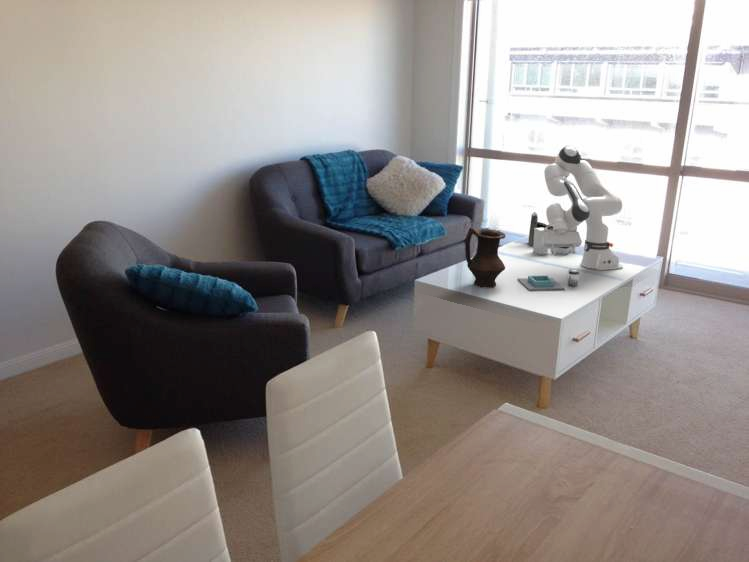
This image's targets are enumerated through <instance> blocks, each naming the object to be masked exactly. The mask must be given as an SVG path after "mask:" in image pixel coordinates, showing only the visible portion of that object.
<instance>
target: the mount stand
mask: <svg viewBox="0 0 749 562" xmlns="http://www.w3.org/2000/svg"><path fill="white" fill-rule="evenodd" d="M517 282H519V284H521V285H522V286H523V287H524V288H525V289H526V290H527V291H529V292H540V291H541V292H542V291H544V292H545V291H565V290H566V289H565V287H564V286H563V285H562V284H560V283H559V282H558V281H556V280H555V279H553V277H550V276H548V275H527V277H525V278H517Z"/></svg>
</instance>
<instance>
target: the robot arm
mask: <svg viewBox="0 0 749 562" xmlns="http://www.w3.org/2000/svg"><path fill="white" fill-rule="evenodd" d="M570 174H571V176H573V177H574V180H575V181H576V184H577V186H578V188H579V190H580V192H581V194H582V195H583V197H586V198H583V197H582V195H581V194H580V192H579V190H578V189H577V186H576V185H575V184H574V183H573V182H572V181H570V180H568V177H569V176H570ZM544 180H545V184H546V188H547V191H548V192H549V194H551V196H554V197H563V196H564V197H565V196H566V195H567V196H568V198H569V200H570V202H571V206H570V208H569V209H567V211H566V210H565V209H564V208H563V207H562V205H561V204H560V203H558V202H556V203H552V204H549V206H548V207H547V208H546V213H545V214H546V219H547V223H548V225H549V226H547V227H545V228H544V230H543V232H542V245H543V246H544V247H548V248H549V249H550V251H551V250H552V251H553V252H552V253H553V255H554V254H555V255H556V254H558V253H557V249H555V248H554V247H572V248H573V249H572V250H571V252H570V254H575V253H576V248H579V247H580V246H581V245H582V242H583V241H582V238H581V236H580V233H579V231H575V230H573V229H574V228H576V227H577V228H578V226H579V225H580V224H582V223H583V222H584V221H585V223H586V236H585V240H584V247H583V249H584V251H583V255H582V258H581V262H580V263H579V265H580V266H582V267H584V268H587V269H593V270H597V271H606V270H607V271H608V270H618V269H623V264H622V263H621V262H620V261H619V260H620V259H619V256H618V254H617V253H615V251H613V250H612V249H611V248H613V247H614V243H612V242H609V241H608V237H609V236H608V235H609V227H608V226H607V225H606V224H605V223H603V217H610V216H614V215H618V214H619V213H621V211H622V210H623V201H622V199H621V197H619V196H617V195H614V194H613V193H611V192H610V191H609V190H608V189H606V187H604V185H603V184H602V183H601V181H600V179H599V177H598V175H597V173H596V172H595V170H594V168H593V167H592V166H591V164H590V163H589V162H588V161H586V160H584V159H583V160H582V155H581V154H580V153H579V151H578V150H577V148H575V147H574V146H571V145H565V146H564V147H562V148H561V149H560V150H559V152H558V154H557V156H556V157H555V160H554V163H550V164H549V165H547V166H545V168H544ZM572 230H573V231H572Z"/></svg>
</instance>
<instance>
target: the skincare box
mask: <svg viewBox="0 0 749 562" xmlns="http://www.w3.org/2000/svg"><path fill="white" fill-rule="evenodd" d="M543 230H544V228H534V245H533V246H532V247H533V250H532V252H533V253H535V254H537V255H548V254H549V247H544V246H543V245H542V232H543Z"/></svg>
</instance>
